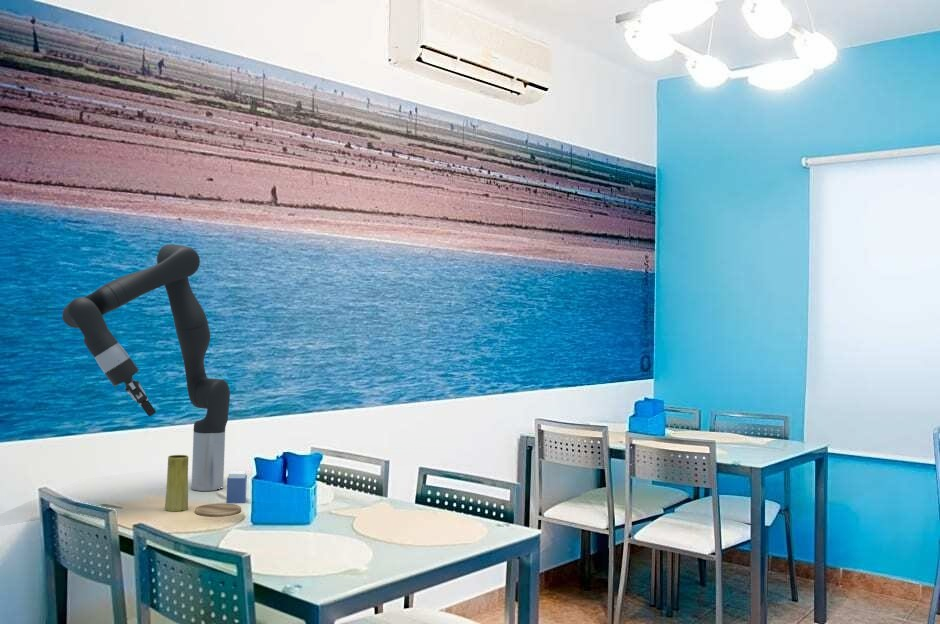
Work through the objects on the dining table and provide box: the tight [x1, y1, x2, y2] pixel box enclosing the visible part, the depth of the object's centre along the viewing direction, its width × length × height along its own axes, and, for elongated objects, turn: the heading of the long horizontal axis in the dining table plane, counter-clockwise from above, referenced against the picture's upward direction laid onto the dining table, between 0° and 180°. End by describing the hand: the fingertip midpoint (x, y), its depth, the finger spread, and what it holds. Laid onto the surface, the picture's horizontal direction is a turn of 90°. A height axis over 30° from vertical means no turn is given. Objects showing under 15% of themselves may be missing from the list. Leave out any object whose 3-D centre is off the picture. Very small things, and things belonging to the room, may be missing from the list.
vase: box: [164, 454, 189, 512], centre depth 231 cm, size 6×6×14 cm
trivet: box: [194, 502, 242, 518], centre depth 230 cm, size 12×12×1 cm
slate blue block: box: [225, 470, 248, 504], centre depth 243 cm, size 5×5×8 cm
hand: (152, 413), depth 230 cm, fingers open, 8 cm apart
